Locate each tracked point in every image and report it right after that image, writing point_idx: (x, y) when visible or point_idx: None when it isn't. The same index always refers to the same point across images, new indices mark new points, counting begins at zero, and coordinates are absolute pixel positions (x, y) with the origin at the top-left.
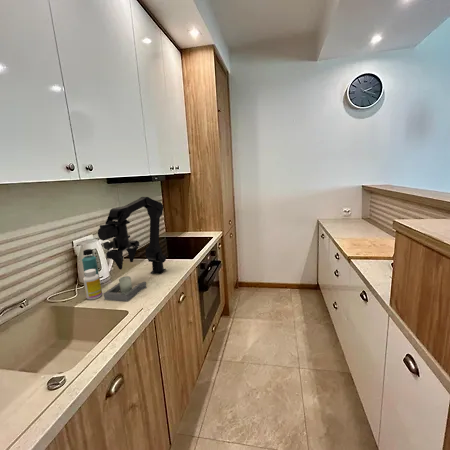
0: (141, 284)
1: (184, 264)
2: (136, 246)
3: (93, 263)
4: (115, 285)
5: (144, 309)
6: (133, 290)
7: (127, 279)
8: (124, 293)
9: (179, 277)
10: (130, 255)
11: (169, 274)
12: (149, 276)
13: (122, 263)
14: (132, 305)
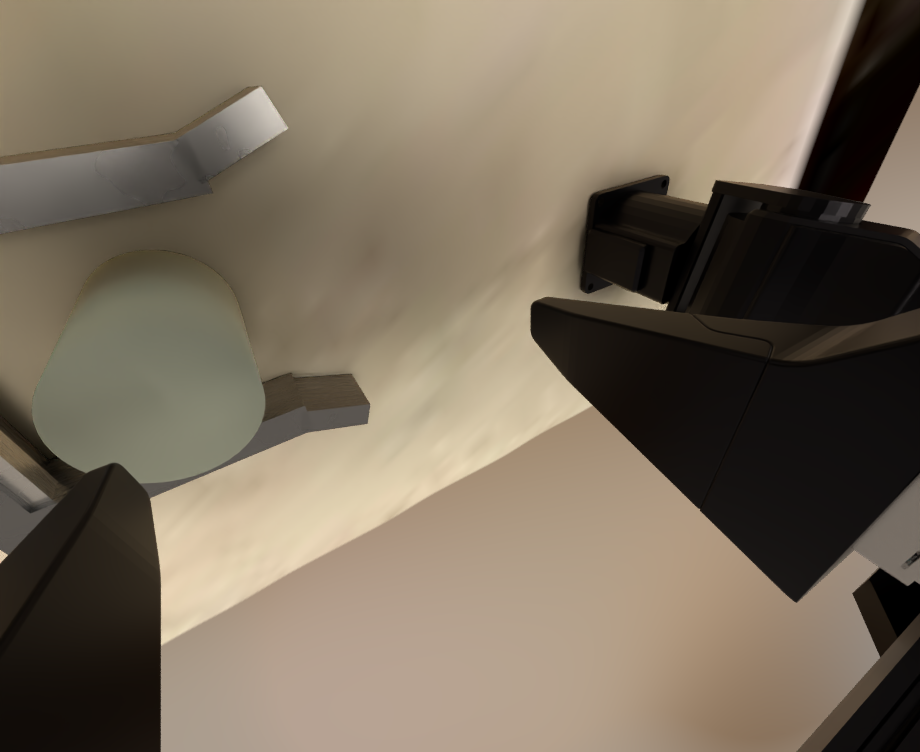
0: (314, 428)
1: None
2: (875, 623)
3: None
4: (59, 162)
5: None
6: (159, 491)
7: (170, 467)
8: (10, 504)
9: (537, 432)
10: (650, 383)
11: None
12: (537, 233)
13: (145, 700)
14: None
